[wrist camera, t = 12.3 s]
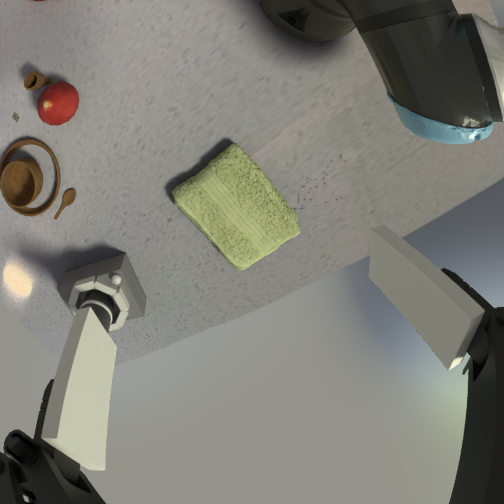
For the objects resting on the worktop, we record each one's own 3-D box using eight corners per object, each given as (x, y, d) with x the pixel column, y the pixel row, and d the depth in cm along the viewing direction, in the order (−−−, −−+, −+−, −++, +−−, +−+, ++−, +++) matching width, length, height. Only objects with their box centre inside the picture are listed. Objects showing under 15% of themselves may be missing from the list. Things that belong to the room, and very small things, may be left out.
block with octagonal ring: (89, 312, 46) (81, 337, 41) (65, 270, 41) (53, 292, 36) (146, 298, 47) (143, 322, 42) (125, 251, 42) (118, 273, 37)
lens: (84, 311, 40) (65, 374, 29) (84, 286, 38) (60, 348, 27) (114, 318, 42) (101, 382, 31) (116, 293, 40) (100, 357, 29)
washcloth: (238, 270, 49) (242, 280, 46) (166, 193, 40) (164, 199, 37) (302, 222, 47) (309, 230, 45) (238, 135, 39) (242, 137, 36)
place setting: (-16, 172, 30) (-35, 182, 25) (48, 67, 27) (29, 64, 22) (51, 235, 39) (37, 253, 34) (124, 138, 35) (114, 143, 30)
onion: (45, 114, 29) (18, 118, 23) (63, 77, 28) (38, 74, 21) (74, 129, 32) (51, 135, 25) (93, 92, 30) (73, 90, 23)
